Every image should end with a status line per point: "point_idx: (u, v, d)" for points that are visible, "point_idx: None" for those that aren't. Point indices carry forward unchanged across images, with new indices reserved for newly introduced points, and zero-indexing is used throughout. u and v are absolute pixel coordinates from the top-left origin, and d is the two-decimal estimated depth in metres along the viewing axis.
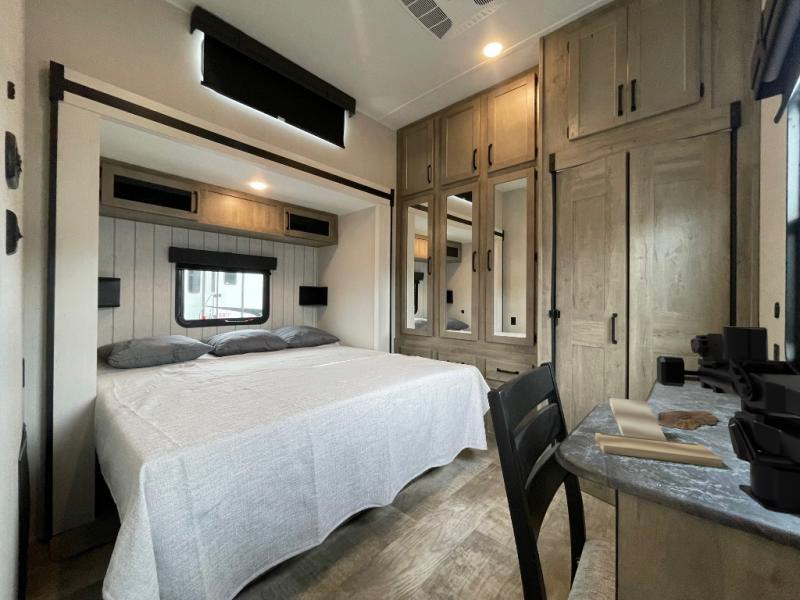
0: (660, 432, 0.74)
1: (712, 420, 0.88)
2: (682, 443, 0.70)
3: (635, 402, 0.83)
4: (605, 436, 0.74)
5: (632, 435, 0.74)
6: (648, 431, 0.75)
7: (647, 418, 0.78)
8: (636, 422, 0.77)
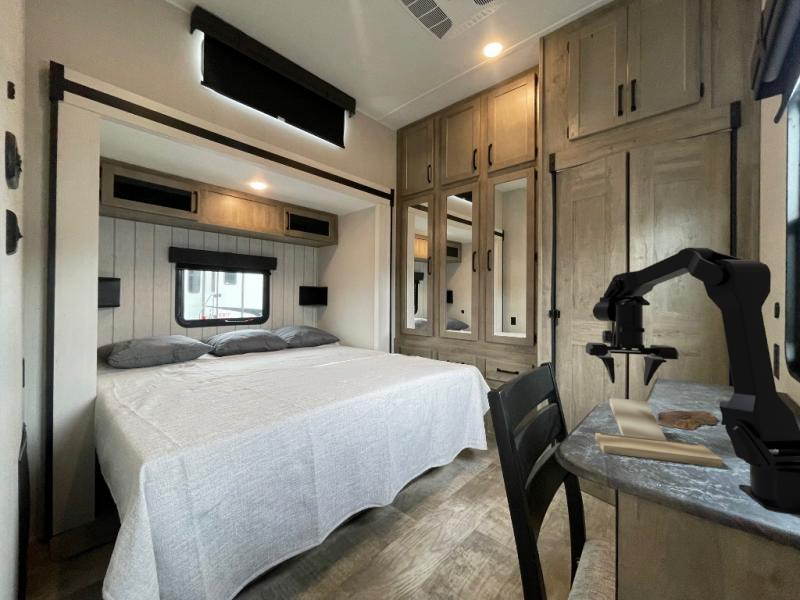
0: (660, 432, 0.74)
1: (712, 420, 0.88)
2: (682, 443, 0.70)
3: (635, 402, 0.83)
4: (605, 436, 0.74)
5: (632, 435, 0.74)
6: (648, 431, 0.75)
7: (647, 418, 0.78)
8: (636, 422, 0.77)
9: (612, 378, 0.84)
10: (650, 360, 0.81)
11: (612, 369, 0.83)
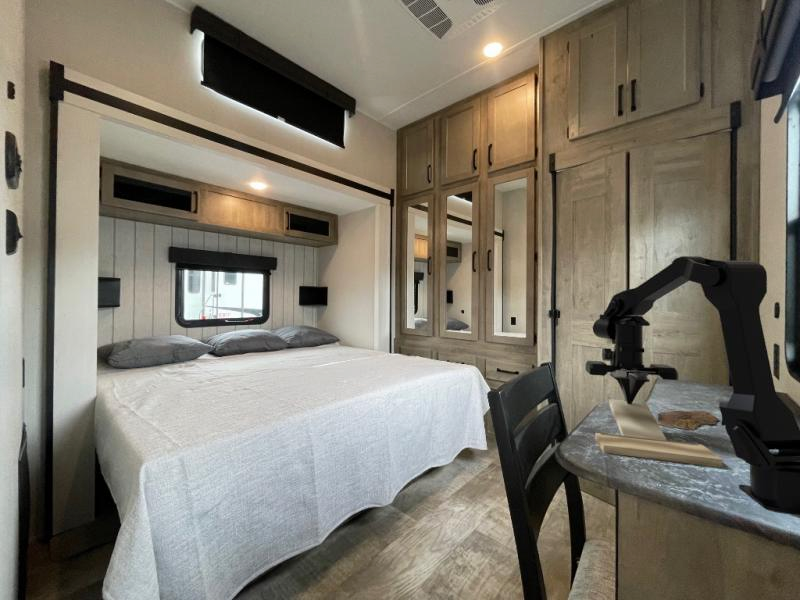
0: (660, 432, 0.74)
1: (712, 420, 0.88)
2: (682, 443, 0.70)
3: (635, 403, 0.83)
4: (605, 436, 0.74)
5: (632, 435, 0.74)
6: (648, 431, 0.75)
7: (647, 419, 0.78)
8: (636, 422, 0.78)
9: (627, 399, 0.83)
10: (634, 379, 0.82)
11: (627, 390, 0.82)
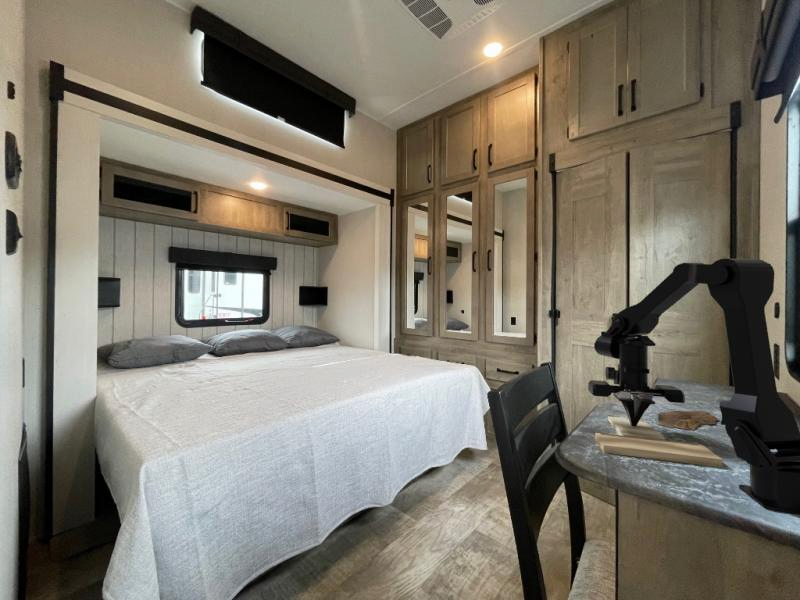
0: (658, 434, 0.75)
1: (711, 420, 0.88)
2: (682, 443, 0.70)
3: None
4: (605, 436, 0.74)
5: (631, 434, 0.75)
6: (647, 433, 0.75)
7: (645, 427, 0.79)
8: (634, 428, 0.78)
9: (632, 421, 0.80)
10: (638, 401, 0.79)
11: (632, 412, 0.79)
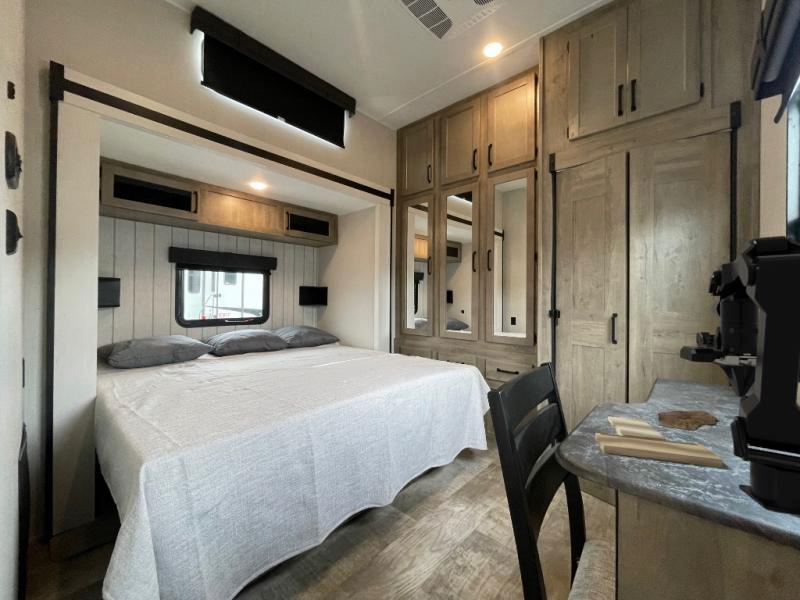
0: (658, 434, 0.75)
1: (711, 420, 0.88)
2: (682, 443, 0.70)
3: (632, 419, 0.85)
4: (605, 436, 0.74)
5: (631, 434, 0.75)
6: (647, 433, 0.75)
7: (645, 427, 0.79)
8: (634, 428, 0.78)
9: (739, 391, 0.69)
10: (748, 367, 0.68)
11: (741, 380, 0.68)
